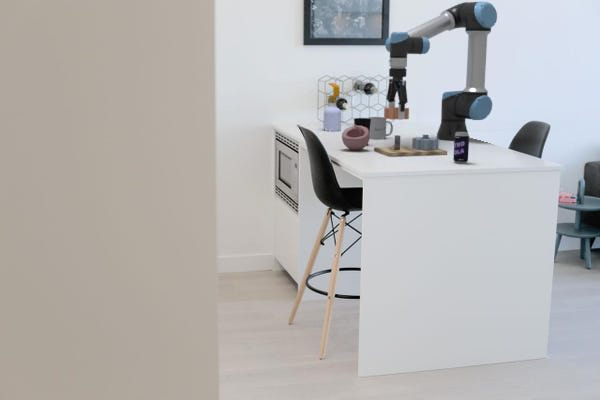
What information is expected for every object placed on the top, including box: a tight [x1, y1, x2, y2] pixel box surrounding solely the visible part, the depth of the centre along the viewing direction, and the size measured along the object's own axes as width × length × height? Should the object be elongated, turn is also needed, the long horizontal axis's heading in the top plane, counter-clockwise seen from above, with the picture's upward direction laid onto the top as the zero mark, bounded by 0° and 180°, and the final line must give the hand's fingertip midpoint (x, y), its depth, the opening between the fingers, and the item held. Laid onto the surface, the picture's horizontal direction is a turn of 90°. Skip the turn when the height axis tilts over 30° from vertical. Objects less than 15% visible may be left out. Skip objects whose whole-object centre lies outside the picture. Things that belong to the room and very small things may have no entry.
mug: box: [368, 116, 394, 140], centre depth 412 cm, size 12×9×10 cm
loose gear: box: [383, 106, 410, 121], centre depth 375 cm, size 11×11×4 cm
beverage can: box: [452, 132, 470, 164], centre depth 335 cm, size 6×6×12 cm
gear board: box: [373, 134, 448, 158], centre depth 362 cm, size 26×18×8 cm
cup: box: [353, 117, 371, 147], centre depth 386 cm, size 8×8×12 cm
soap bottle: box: [323, 82, 342, 132], centre depth 443 cm, size 9×9×25 cm
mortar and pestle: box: [341, 124, 371, 151], centre depth 368 cm, size 12×12×12 cm
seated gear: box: [411, 136, 440, 151], centre depth 364 cm, size 11×11×4 cm
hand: (396, 117), depth 375 cm, fingers closed on loose gear, 11 cm apart
